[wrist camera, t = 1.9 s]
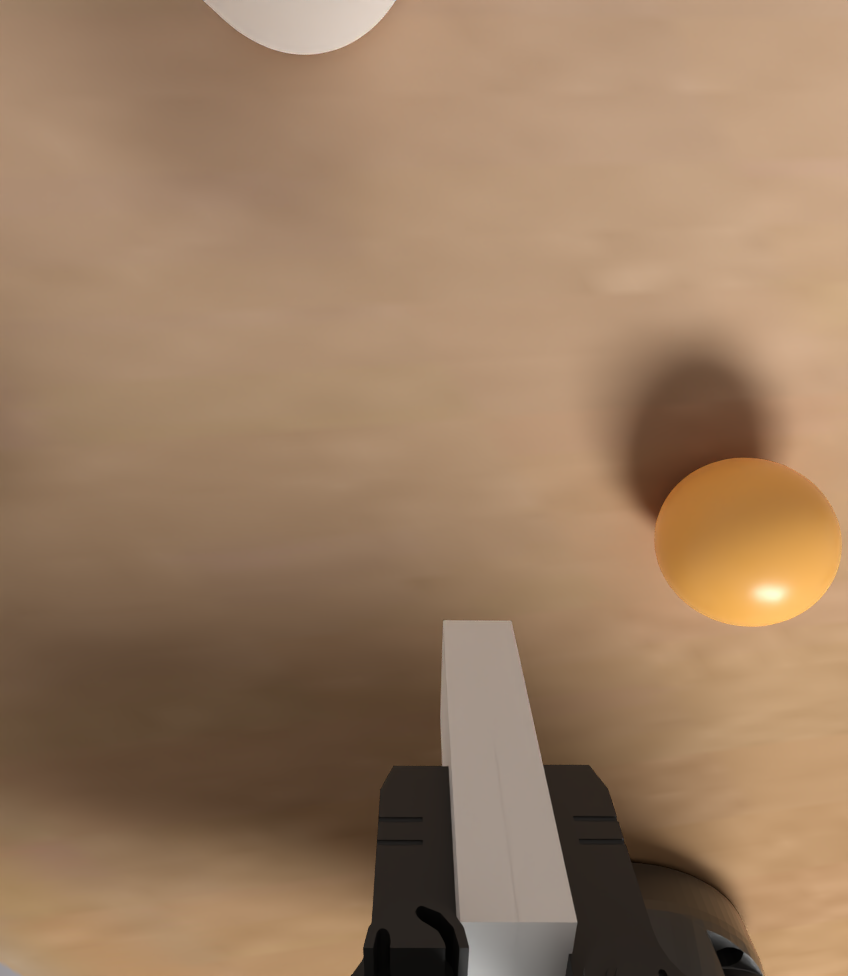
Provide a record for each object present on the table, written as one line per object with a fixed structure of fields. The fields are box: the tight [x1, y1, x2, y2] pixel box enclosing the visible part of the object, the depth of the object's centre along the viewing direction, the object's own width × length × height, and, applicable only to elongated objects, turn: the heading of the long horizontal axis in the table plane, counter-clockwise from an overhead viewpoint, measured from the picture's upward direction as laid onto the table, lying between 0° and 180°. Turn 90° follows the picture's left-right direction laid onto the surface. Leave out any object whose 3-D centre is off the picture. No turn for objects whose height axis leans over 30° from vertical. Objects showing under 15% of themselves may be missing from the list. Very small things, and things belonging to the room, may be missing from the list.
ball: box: [654, 458, 842, 627], centre depth 22 cm, size 6×6×6 cm
